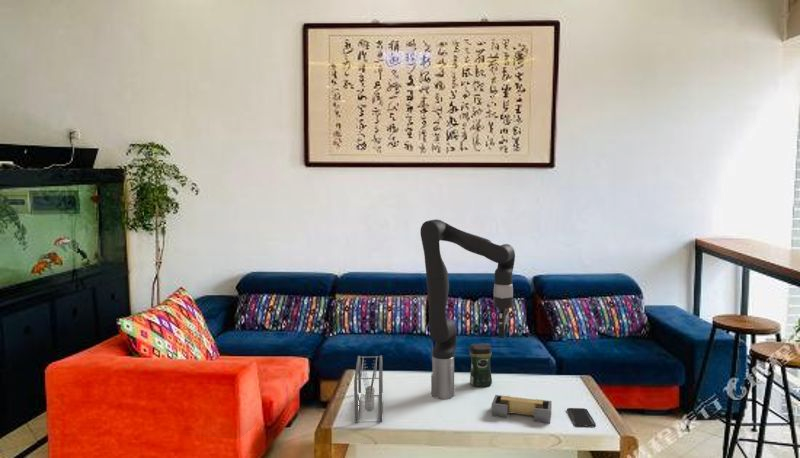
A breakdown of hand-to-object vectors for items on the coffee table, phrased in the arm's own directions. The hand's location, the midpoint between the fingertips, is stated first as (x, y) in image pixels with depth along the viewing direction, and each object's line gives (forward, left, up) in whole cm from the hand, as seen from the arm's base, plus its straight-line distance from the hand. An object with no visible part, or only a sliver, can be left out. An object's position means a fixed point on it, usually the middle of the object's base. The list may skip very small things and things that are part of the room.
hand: (503, 335), depth 224 cm
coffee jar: (-13, +23, -30) cm, 40 cm away
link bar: (+8, -4, -29) cm, 30 cm away
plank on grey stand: (+8, -4, -30) cm, 31 cm away
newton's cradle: (-52, -15, -30) cm, 62 cm away
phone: (+30, -1, -31) cm, 43 cm away
